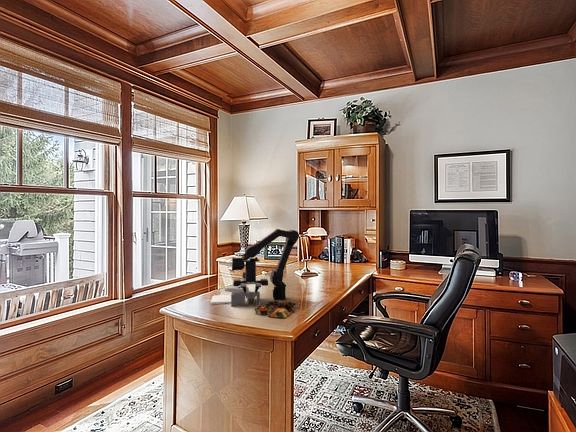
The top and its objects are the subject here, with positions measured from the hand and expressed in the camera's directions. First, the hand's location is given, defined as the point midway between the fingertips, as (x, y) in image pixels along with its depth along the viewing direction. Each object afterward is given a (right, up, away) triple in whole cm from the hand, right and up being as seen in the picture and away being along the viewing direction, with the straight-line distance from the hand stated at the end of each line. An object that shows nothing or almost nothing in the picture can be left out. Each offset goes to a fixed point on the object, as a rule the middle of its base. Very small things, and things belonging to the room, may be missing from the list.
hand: (250, 298), depth 190 cm
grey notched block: (-2, -1, -10) cm, 10 cm away
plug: (+1, -1, -4) cm, 4 cm away
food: (+15, -2, -20) cm, 25 cm away
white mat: (-15, -1, -1) cm, 15 cm away
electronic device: (-11, -1, +21) cm, 23 cm away
